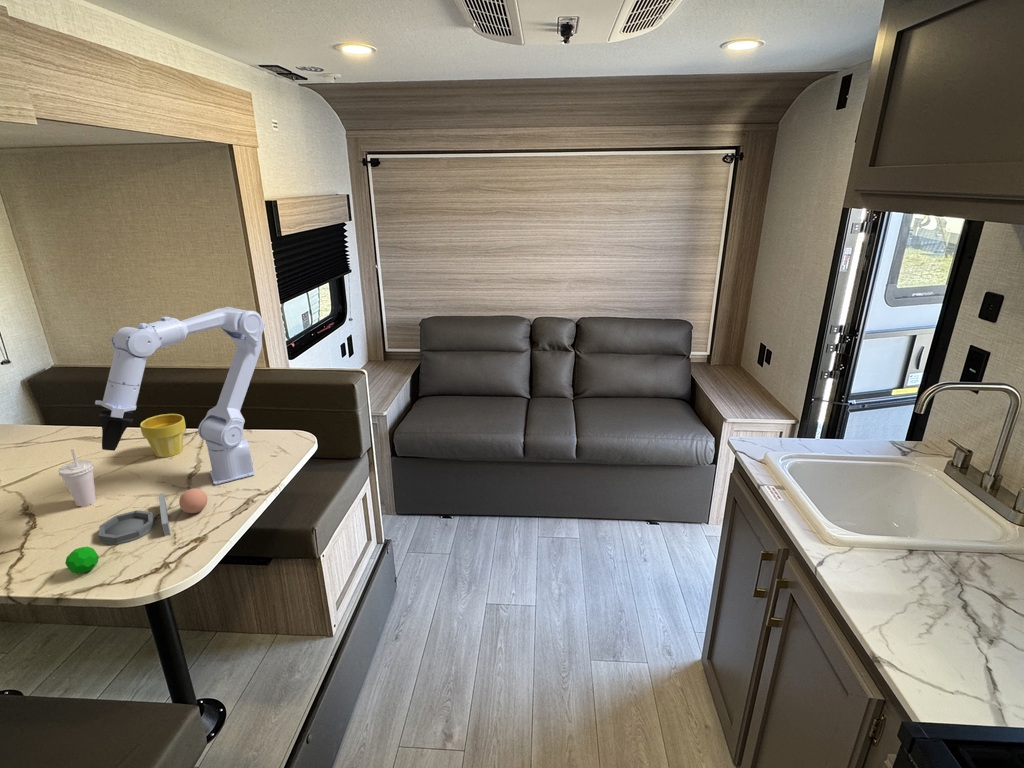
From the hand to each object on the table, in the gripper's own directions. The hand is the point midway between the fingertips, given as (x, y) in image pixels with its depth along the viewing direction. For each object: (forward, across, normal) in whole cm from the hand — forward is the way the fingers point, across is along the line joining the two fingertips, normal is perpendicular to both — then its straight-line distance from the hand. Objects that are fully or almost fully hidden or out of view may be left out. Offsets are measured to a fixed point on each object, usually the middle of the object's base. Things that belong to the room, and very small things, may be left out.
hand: (109, 446), depth 112 cm
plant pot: (+7, -37, +14) cm, 41 cm away
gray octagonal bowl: (+18, -1, +7) cm, 19 cm away
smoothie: (+18, -19, -2) cm, 26 cm away
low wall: (+16, -1, +13) cm, 20 cm away
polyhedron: (+23, +9, +1) cm, 25 cm away
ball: (+13, -1, +19) cm, 23 cm away
